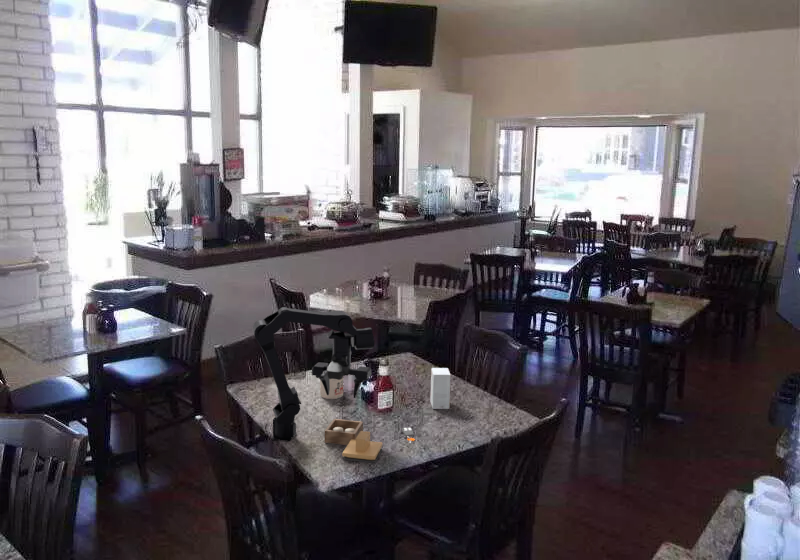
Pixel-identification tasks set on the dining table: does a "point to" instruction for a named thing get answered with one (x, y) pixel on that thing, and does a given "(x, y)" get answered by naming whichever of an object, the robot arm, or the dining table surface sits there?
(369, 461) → the rubber mat
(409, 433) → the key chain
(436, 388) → the small box
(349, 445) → the lid
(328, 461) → the dining table surface
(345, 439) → the walnut box
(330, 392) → the teacup with lid
